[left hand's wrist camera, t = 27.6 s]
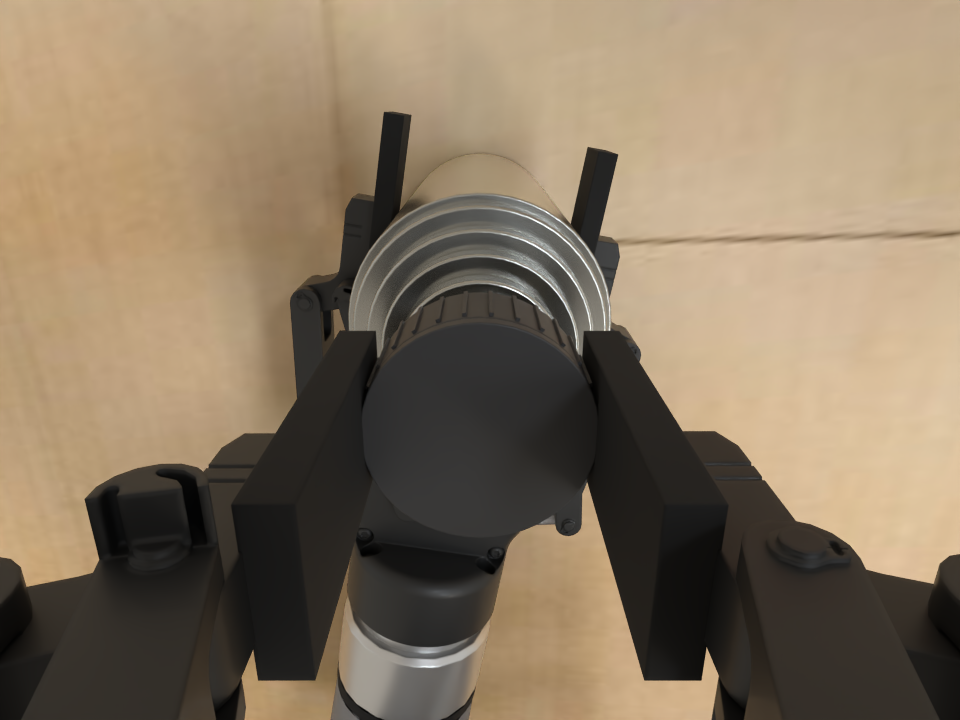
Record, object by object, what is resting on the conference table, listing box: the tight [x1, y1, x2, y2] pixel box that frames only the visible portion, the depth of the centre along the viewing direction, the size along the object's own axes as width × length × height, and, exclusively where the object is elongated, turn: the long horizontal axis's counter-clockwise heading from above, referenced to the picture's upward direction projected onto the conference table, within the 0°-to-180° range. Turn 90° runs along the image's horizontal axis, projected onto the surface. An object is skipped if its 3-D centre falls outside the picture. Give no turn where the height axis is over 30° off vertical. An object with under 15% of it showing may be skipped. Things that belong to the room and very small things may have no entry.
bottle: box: [348, 153, 611, 357], centre depth 23 cm, size 7×7×22 cm
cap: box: [362, 291, 598, 538], centre depth 13 cm, size 5×5×2 cm
